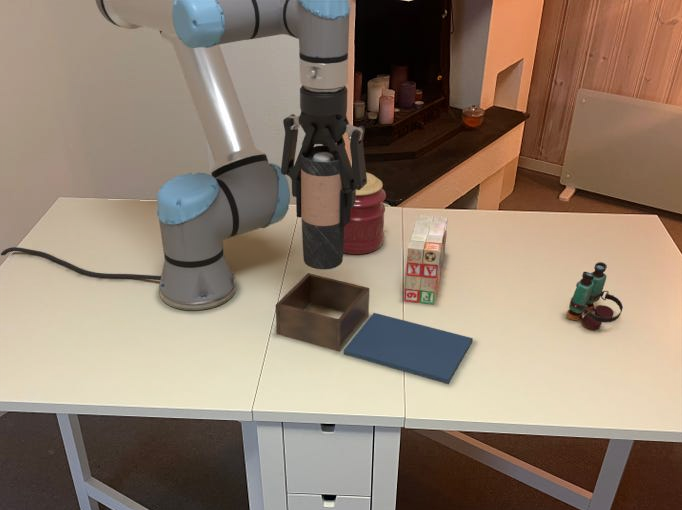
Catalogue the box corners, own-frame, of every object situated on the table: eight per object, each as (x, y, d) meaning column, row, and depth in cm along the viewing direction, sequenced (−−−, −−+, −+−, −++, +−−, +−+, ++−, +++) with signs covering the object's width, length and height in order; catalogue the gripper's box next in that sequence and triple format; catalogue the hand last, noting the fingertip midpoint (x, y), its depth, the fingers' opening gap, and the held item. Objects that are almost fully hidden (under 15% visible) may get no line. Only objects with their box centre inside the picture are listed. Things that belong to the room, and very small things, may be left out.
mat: (343, 354, 137) (343, 349, 137) (373, 316, 148) (373, 312, 147) (448, 384, 130) (449, 379, 130) (472, 342, 141) (472, 338, 140)
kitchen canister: (390, 252, 169) (394, 177, 158) (334, 258, 166) (334, 182, 156) (374, 227, 179) (377, 155, 169) (321, 232, 177) (321, 159, 166)
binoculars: (619, 295, 136) (571, 271, 141) (601, 341, 143) (556, 316, 148) (643, 278, 141) (596, 255, 146) (624, 323, 148) (580, 299, 153)
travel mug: (344, 271, 134) (346, 162, 122) (300, 270, 134) (299, 161, 122) (344, 250, 140) (346, 145, 128) (303, 249, 140) (301, 144, 128)
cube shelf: (276, 334, 142) (275, 304, 138) (308, 300, 152) (307, 272, 148) (339, 351, 138) (340, 322, 134) (368, 316, 148) (369, 287, 144)
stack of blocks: (416, 252, 169) (420, 201, 162) (444, 255, 168) (450, 204, 161) (403, 301, 152) (407, 246, 145) (434, 305, 151) (440, 250, 144)
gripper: (254, 82, 119) (261, 215, 133) (374, 102, 112) (368, 240, 126) (277, 70, 125) (281, 199, 138) (393, 88, 118) (385, 222, 131)
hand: (323, 218), depth 132 cm, fingers closed on travel mug, 8 cm apart
